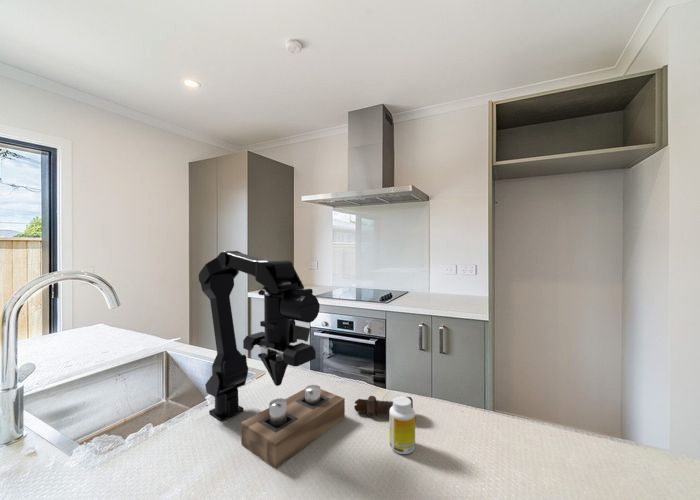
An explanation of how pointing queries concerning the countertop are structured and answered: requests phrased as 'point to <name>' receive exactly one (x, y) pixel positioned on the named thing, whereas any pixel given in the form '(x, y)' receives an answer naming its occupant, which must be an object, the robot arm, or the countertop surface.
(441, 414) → the countertop surface
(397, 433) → the supplement bottle
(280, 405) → the peg tall
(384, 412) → the bolt
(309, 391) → the peg short
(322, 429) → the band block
